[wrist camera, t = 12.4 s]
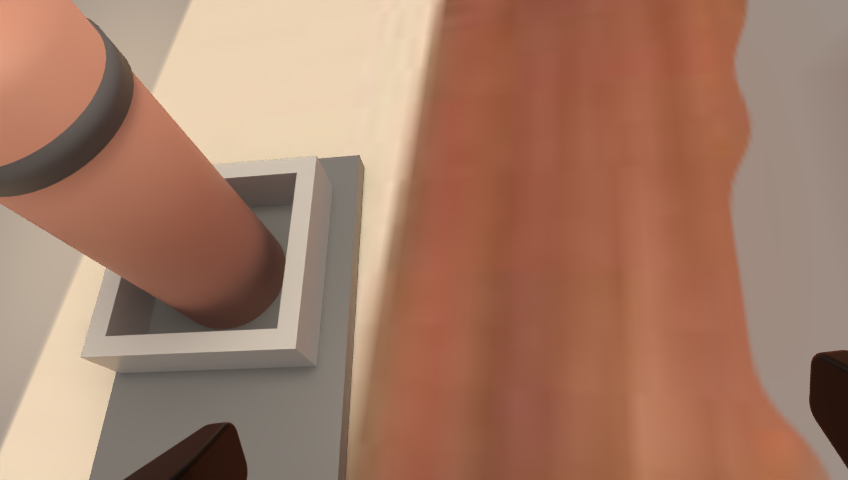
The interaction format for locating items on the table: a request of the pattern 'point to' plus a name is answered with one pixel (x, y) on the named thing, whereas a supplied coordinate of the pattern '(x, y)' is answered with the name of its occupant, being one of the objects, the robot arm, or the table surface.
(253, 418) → the jig
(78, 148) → the banded pink rod
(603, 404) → the table surface
